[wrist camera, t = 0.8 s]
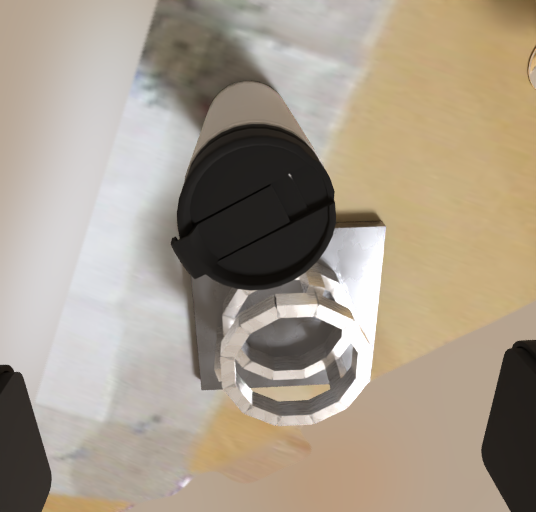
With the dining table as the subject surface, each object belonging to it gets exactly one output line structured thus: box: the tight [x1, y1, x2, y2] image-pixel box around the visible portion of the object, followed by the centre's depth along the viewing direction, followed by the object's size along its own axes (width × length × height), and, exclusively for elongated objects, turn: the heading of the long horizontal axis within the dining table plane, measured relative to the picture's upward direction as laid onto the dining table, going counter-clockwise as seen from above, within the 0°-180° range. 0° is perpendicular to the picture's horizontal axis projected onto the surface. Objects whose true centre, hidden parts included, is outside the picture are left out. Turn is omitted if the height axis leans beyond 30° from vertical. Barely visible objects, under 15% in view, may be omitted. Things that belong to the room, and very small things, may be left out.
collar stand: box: [191, 221, 386, 426], centre depth 39 cm, size 16×16×9 cm
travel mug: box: [171, 81, 336, 291], centre depth 27 cm, size 6×7×20 cm
